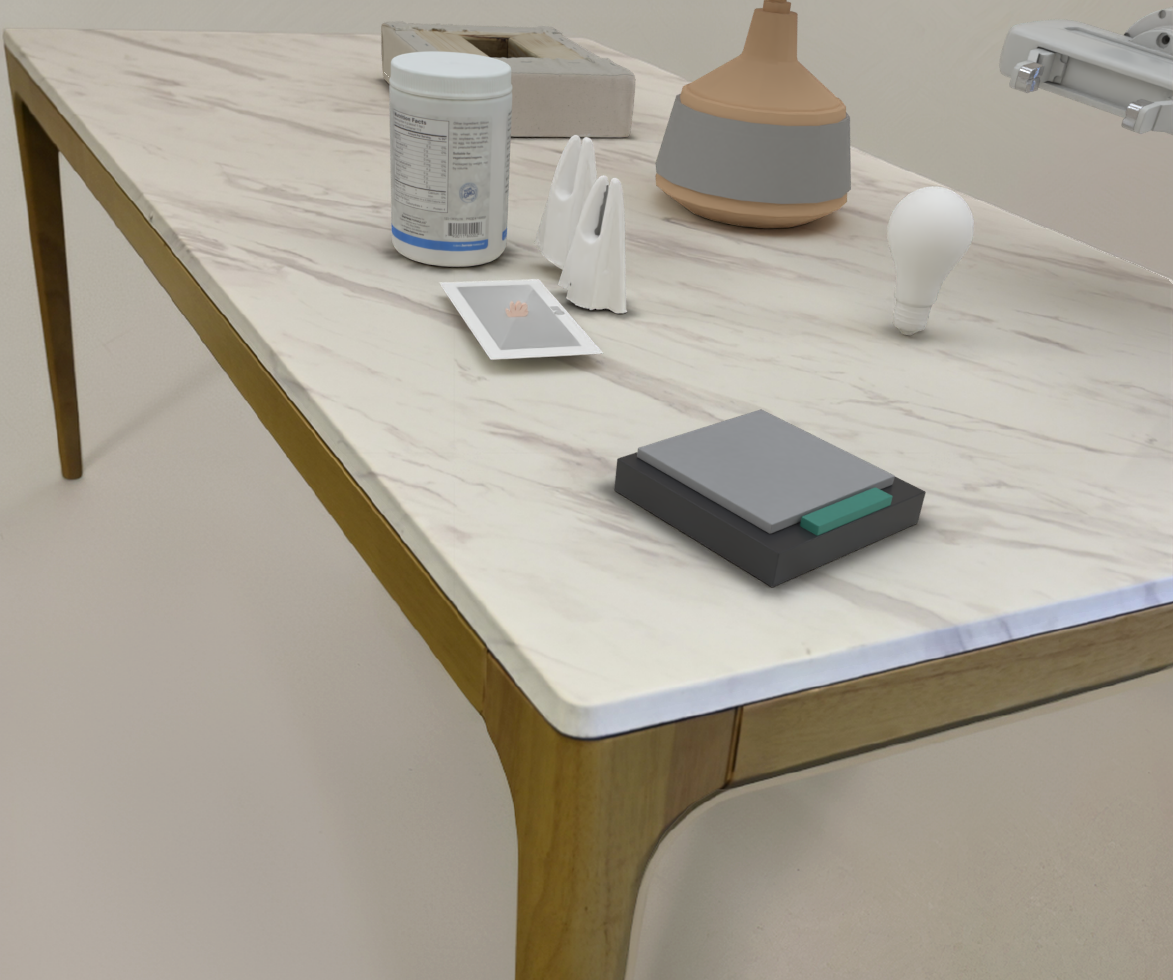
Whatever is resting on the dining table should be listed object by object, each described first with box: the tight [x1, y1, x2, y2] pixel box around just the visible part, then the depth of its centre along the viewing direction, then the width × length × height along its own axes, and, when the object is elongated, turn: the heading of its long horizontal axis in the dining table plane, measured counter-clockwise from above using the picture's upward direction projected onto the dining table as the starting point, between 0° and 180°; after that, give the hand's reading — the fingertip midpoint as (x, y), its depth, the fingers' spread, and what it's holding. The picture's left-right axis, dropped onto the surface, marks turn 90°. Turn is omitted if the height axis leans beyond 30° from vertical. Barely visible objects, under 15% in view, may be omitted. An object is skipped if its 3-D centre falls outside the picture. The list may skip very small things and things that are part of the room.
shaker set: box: [533, 135, 628, 314], centre depth 93 cm, size 12×4×11 cm, turn 19°
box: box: [380, 20, 636, 138], centre depth 148 cm, size 23×8×32 cm
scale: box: [613, 408, 927, 588], centre depth 67 cm, size 12×12×3 cm
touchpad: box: [438, 278, 604, 361], centre depth 87 cm, size 8×15×2 cm, turn 19°
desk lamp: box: [654, 0, 852, 229], centre depth 110 cm, size 22×19×37 cm
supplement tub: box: [388, 51, 512, 268], centre depth 97 cm, size 10×10×15 cm
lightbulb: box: [886, 185, 975, 336], centre depth 90 cm, size 6×6×11 cm
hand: (1074, 98), depth 88 cm, fingers open, 8 cm apart
